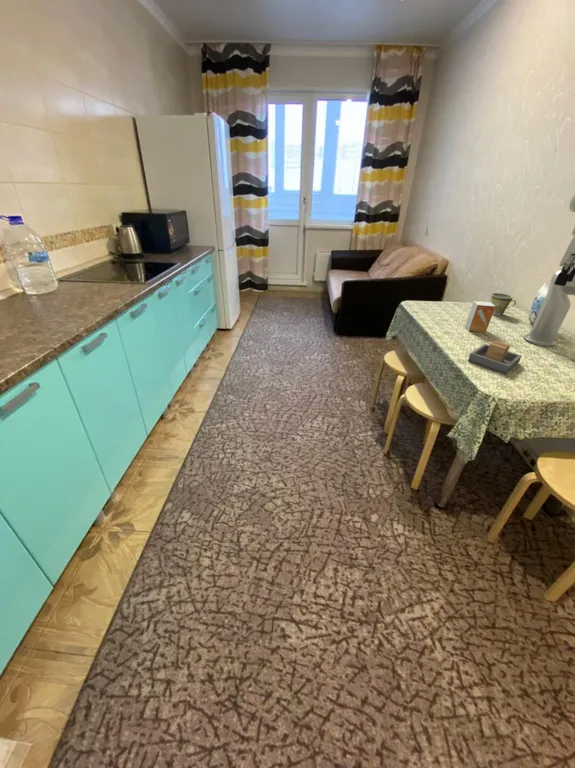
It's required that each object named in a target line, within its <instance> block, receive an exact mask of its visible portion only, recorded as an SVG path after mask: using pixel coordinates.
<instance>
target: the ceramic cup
mask: <svg viewBox="0 0 575 768" xmlns="http://www.w3.org/2000/svg"><path fill="white" fill-rule="evenodd" d="M513 298H514V297H513V296H512V295H510V294H506V293H500V292H493V293H491V297H490V302H491V303H492V304H493V305H495V306H496V307H495V310H494V312H493V315H492V316H498V317H499V316H503V315H504V314H505V312H506V310H507V309H509V308H512V307H514V306H515V305H516V304H517V302H516V300H514V299H513ZM511 302H514V304H512V305H510V304H511ZM509 305H510V306H509Z"/></svg>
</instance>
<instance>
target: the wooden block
mask: <svg viewBox="0 0 575 768" xmlns="http://www.w3.org/2000/svg"><path fill="white" fill-rule="evenodd" d="M489 345H490V346H489V348H488V351H487V353H486V356H485V357H486V358H489V359H492V360H495V361H498V362H501V363H502V362H503V361H504V359H505V357H506V355H507V352H508V351H509V349H510V347H511V344H510V343H506V342H503V341H499V340H496V339H495V340H493V341H492V342H491V343H490V344H489Z"/></svg>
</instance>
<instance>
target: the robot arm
mask: <svg viewBox="0 0 575 768" xmlns="http://www.w3.org/2000/svg"><path fill="white" fill-rule="evenodd" d="M568 207H569V211H570V212H572V213H575V193H574V194H573V195H572V196H571V199H570V201H569V206H568ZM570 234H571V236H573V237H572V239H571V240H570V242H569V244H568V246H567V248H566V250H565V252H564V254H563V256H562V258H561V260H560V262H559V267H561V269H558V270H557V271H555V272H554V273H553V274H552V276H551V278H550V280H549V281H550V282H549V285H548V287H549V289H548V292H547V295H546V297H545V300H544V302H543V304H542V307H541V309H540V311H539V313H538V316H537V318H536V320H535V322H534V325H532V327H531V329H530V331H529V333H526V334H524V336H523V339H524V340H525V341H526V342H528V343H530V344H533V345H536V346H540V347H548V348H549V347H550V348H552V347H556V346H557V344H558V342H557V339H556V336H557V334H558V332H559V330H560V329H561V326H562V324H563V323H564V321H565V318H566V316H567V314H568V312H569V311H570V309H571V299H570V298H569V296H575V226H574V227H573V230H572V232H571V233H570Z"/></svg>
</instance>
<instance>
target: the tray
mask: <svg viewBox="0 0 575 768" xmlns="http://www.w3.org/2000/svg"><path fill="white" fill-rule="evenodd" d="M489 346H490V344H486V343H483V344H482V345H481V346H479V347H477V348H476V349H474V350H473V351H472V352H470V353H469V357H468V359H467V362H469V363H471V362H472V363H471V364H474V365H477V366H480V367H483V368H486V369H489V370H492V371H494V372H496V373H500V374H503V375H505V376H506V375H507V374H509V373H510V372H511V371H512V370H514V368H515V367H516V366H517V365H519V362H520V361H521V359H522V355H521V354H518V353H514V352H512V351H509V350H508V352H507V355H506V357H505V359H504V361H503V362H502V363H501V362H498V361H495V360H492V359H489V358H486V357H485V356H486V353H487V351H488V348H489Z"/></svg>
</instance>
